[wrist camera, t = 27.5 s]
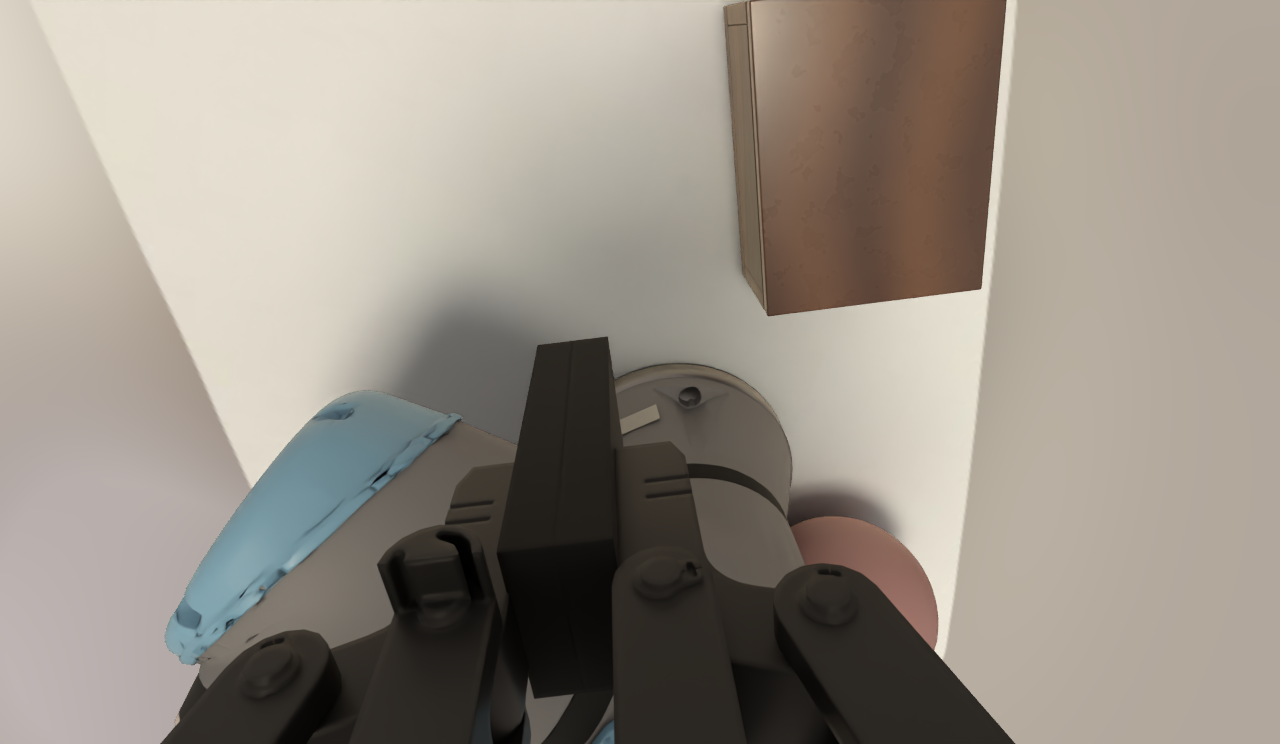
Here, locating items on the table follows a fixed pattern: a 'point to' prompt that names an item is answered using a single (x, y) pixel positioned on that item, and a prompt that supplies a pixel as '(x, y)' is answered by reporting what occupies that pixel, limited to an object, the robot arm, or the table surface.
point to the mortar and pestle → (873, 564)
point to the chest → (744, 144)
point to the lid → (872, 146)
